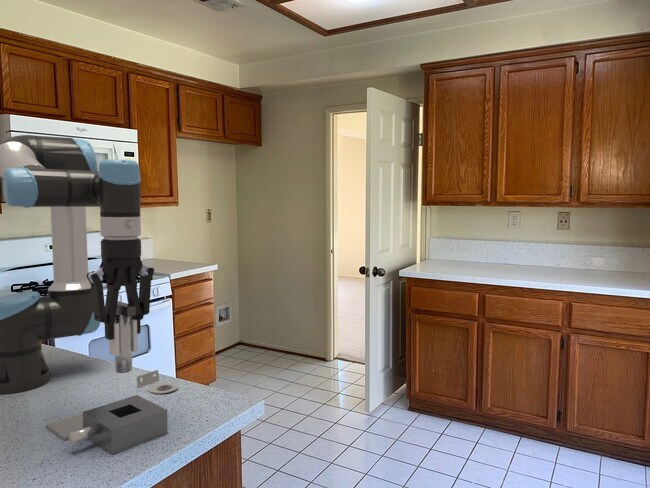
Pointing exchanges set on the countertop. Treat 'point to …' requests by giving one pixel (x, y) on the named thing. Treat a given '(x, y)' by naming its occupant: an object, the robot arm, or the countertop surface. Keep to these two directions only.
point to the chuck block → (122, 424)
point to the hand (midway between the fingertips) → (123, 351)
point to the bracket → (150, 379)
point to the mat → (66, 426)
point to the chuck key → (124, 337)
